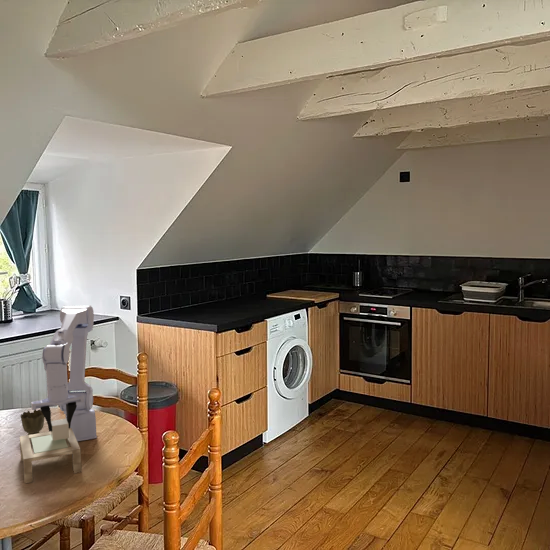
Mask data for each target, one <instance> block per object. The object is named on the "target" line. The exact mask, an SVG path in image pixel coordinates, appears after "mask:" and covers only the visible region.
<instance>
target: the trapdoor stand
mask: <svg viewBox="0 0 550 550" xmlns="http://www.w3.org/2000/svg"><path fill="white" fill-rule="evenodd" d="M47 435H51V431H50V432H49V431H44V432H40V433H38V434H32V435H28V434H27V435H21V436H19V448H20V449H19V450H20V461H21V462H23V477H24V478H23V479H24V480H23V481H24V484H29V483H33V482H34V481H33V478H34V477H33V464H32V463H33V462H34V461H35V462H36V461H40V460H41V461H42V460H46V459H51V458H56V457H61V456H68V454H69V455H72V471H74V472H73V474H77V472H79V473H82V459H81V458H82V457H81V456H82V455H81V447H80V445H79V441H77V440H76V437H75V435H74V433H73V430H72V428H69V438H66V439H65V440H66V443H67V446H68V448H63V449H58V450H52V451H47V452H41V453H36V454H34V452H33V448H32V443H31V438H35V437H41V436H47Z"/></svg>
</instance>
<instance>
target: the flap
mask: <svg viewBox="0 0 550 550" xmlns="http://www.w3.org/2000/svg"><path fill="white" fill-rule="evenodd" d="M30 444H31V448H32V453H33V454H36V453H41V452H47V451H52V450H58V449H63V448H68V446H67V443H66V440H65V439H61V440H55V441H53V440H52V437H51V435H47V436H41V437H35V438H31V441H30ZM68 455H70V454H68ZM68 455H67V456H68Z"/></svg>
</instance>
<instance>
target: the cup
mask: <svg viewBox="0 0 550 550" xmlns="http://www.w3.org/2000/svg"><path fill="white" fill-rule="evenodd" d="M32 411H33V412H31V411H29V410H28V411H23V413H21V414H20V418H21V419H20V420H21V424H22V429H23V431H24V432H25V433H27V435H32V434H38V433H41V431H42V430H43V428H44V425H45V417H44V415H43V414H42V412H41V409H36V410H32Z"/></svg>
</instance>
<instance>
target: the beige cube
mask: <svg viewBox="0 0 550 550" xmlns="http://www.w3.org/2000/svg"><path fill="white" fill-rule="evenodd" d="M51 426H52V431H51V437H52V440H53V441H55V440H61V439H66V438H69V425H68V421H67V419H66V418H61V419H55V420H51Z"/></svg>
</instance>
